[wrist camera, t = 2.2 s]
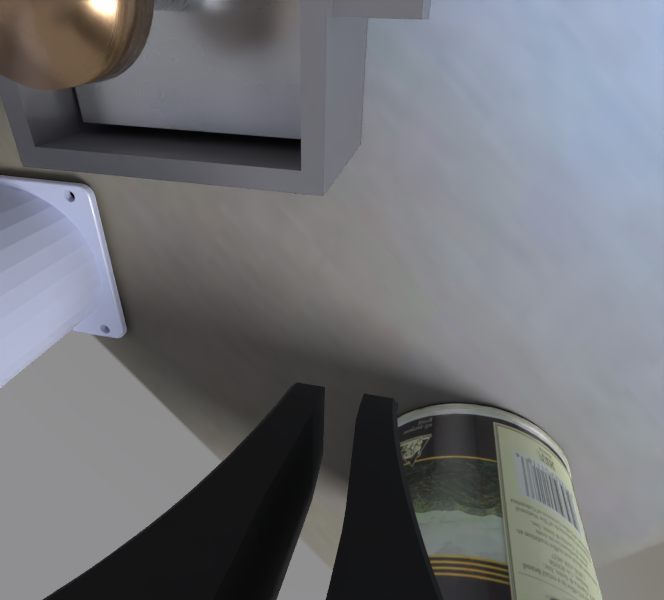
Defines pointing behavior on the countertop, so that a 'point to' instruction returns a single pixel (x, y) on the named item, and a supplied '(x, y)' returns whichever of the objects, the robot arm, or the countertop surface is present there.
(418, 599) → the robot arm
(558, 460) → the coffee can
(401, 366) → the countertop surface
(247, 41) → the plunger
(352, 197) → the countertop surface
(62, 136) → the grey open box
